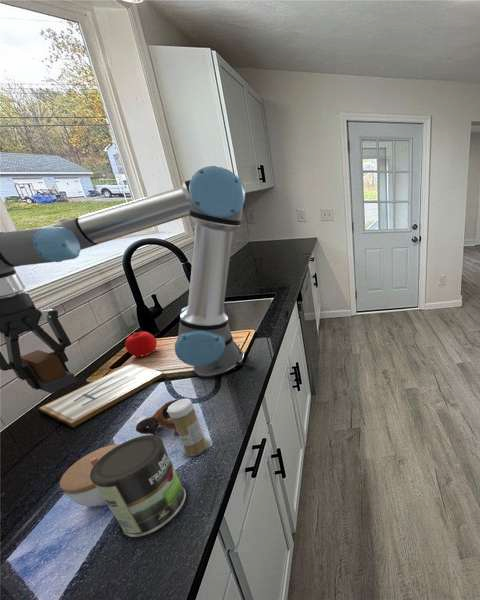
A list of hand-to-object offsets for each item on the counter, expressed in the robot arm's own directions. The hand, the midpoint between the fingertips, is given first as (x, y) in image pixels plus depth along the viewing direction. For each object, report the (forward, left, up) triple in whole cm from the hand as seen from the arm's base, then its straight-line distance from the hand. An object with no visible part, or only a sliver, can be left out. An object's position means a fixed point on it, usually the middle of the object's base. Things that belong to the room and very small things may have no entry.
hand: (51, 380), depth 79 cm
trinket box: (-33, +8, -15) cm, 37 cm away
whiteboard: (+9, -11, -15) cm, 21 cm away
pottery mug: (-27, -8, -15) cm, 32 cm away
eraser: (0, 0, -1) cm, 1 cm away
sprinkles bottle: (-40, -6, -15) cm, 43 cm away
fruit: (+23, -30, -15) cm, 41 cm away
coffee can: (-46, +7, -15) cm, 48 cm away
